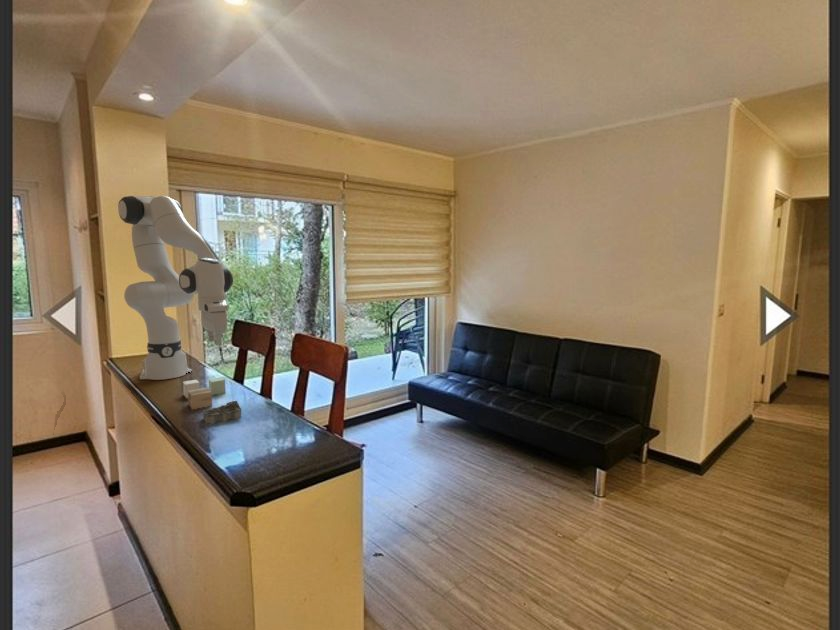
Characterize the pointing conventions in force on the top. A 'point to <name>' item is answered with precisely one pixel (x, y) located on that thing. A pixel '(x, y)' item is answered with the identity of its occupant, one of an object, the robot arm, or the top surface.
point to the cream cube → (190, 386)
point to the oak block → (199, 398)
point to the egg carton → (223, 412)
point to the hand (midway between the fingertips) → (214, 342)
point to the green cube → (217, 385)
